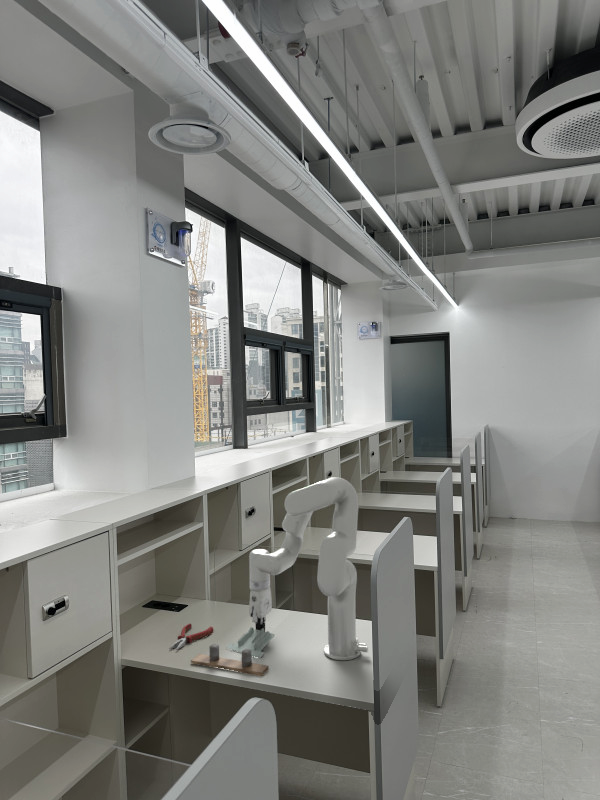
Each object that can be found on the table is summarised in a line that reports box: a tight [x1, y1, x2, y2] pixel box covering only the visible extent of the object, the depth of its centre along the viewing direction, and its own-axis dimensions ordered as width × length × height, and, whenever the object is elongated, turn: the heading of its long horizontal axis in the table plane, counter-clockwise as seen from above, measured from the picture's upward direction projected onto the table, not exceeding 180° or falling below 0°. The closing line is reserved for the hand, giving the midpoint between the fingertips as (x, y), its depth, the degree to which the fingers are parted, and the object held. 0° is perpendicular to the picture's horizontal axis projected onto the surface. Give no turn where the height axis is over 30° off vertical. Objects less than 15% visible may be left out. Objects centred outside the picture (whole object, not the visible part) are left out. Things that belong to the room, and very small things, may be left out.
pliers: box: [168, 623, 214, 651], centre depth 204 cm, size 12×20×3 cm, turn 160°
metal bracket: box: [225, 626, 276, 659], centre depth 197 cm, size 14×6×15 cm
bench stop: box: [190, 643, 270, 677], centre depth 183 cm, size 26×5×6 cm, turn 69°
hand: (260, 633), depth 206 cm, fingers closed
